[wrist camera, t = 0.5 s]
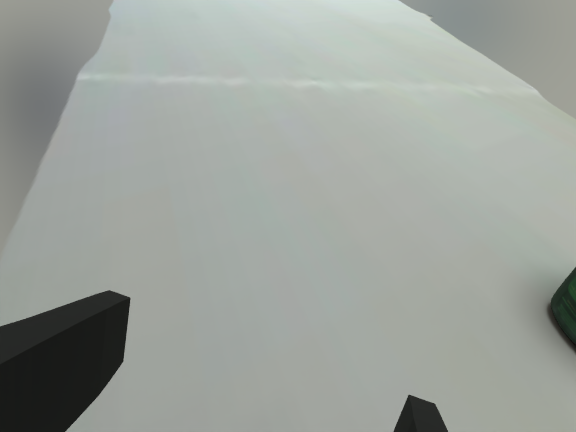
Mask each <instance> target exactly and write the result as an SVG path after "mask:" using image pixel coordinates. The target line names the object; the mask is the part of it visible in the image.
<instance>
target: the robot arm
mask: <svg viewBox="0 0 576 432" xmlns="http://www.w3.org/2000/svg"><path fill="white" fill-rule="evenodd" d="M129 306H130V297H127V296H124V295H121V294H118V293H116V292H113V291H110V290H109V291H105V292H102V293H99V294H95V295H93V296H90V297H87V298H84V299H81V300H78V301H75V302H72V303H70V304H67V305H64V306H61V307H58V308H55V309H52V310H50V311H47V312H44V313H41V314H38V315H35V316H32V317H29V318H26V319H23V320H20V321H17V322H13V323H10V324H7V325H4V326H0V432H65V431H66V430H67V429H68V428H69V427H70V426H71V425H72V424H73V423H74V422H75V421H76V420H77V419H78V417H79V416H80V415H81V414H82V413H83V412H84V411H85V410H86V409H87V408H88V407H89V406H90V404H91V403H92V402H93V401H94V400H95V399H96V398H97V397H98V396H99V394H100V393H101V392H102V390H103V389H104V388H105V386H106V385H107V384H108V382H109V381H110V380H111V378H112V377H113V375H114V374H115V373H116V371H117V370H118V368H119V367H120V365H121V364H122V363H123V359H124V350H125V341H126V333H127V324H128V315H129ZM394 432H448V430H447V428H446V426H445V424H444V422H443V420H442V417H441V415H440V413H439V411H438V409H437V407H436V405H435V404H434V403H431V402H428V401H425V400H423V399H420V398H417V397H414V396H411V395H408V398H407V400H406V403H405V405H404V407H403V410H402V412H401V415H400V417H399V419H398V422H397V424H396V427H395V429H394Z"/></svg>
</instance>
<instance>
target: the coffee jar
mask: <svg viewBox="0 0 576 432" xmlns="http://www.w3.org/2000/svg"><path fill="white" fill-rule="evenodd" d="M551 308H552V311H553V313H554V315H555V318H556V320H557V322H558V323H559V325H560V327H561V328H562V330H563V331H564V332H565V334H566V335H567V336H568V337H569V338H570V339H571V341H573V342H574V343H575V344H576V267H575V269H574V270H573V271H572V272H571V273H570V275H569V276H568V277H567V278H566V279H565V281H564V282H563V283H562V285H561V286H560V287H559V288H558V290H557V291H556V293H555V294H554V295H553V297H552V299H551Z"/></svg>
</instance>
